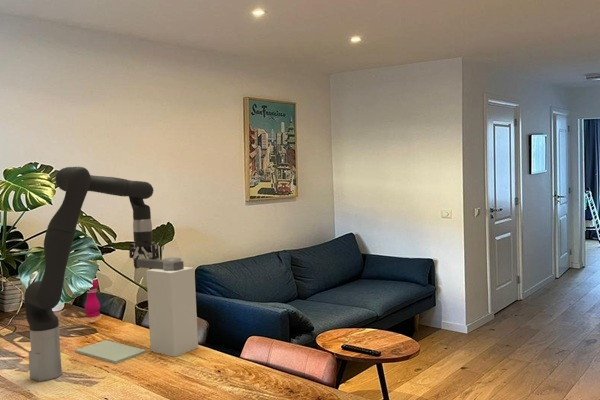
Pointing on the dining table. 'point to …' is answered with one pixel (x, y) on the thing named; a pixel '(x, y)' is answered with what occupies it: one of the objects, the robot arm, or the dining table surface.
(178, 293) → the tower
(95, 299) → the pepper mill
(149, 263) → the gray mallet
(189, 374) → the dining table surface
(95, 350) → the assembly mat
